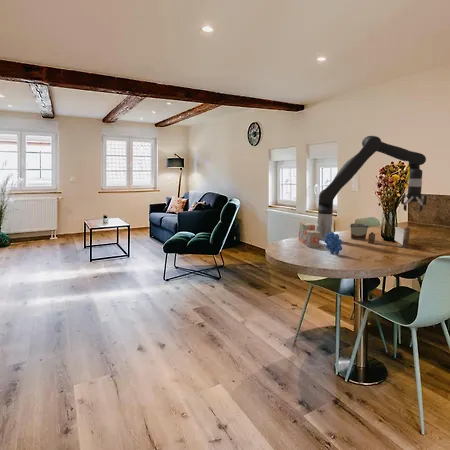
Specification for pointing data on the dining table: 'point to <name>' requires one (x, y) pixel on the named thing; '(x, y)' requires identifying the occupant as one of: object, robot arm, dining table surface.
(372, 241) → the latch post
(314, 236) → the stack of blocks
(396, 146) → the robot arm
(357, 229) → the food container
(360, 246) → the dining table surface
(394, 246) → the sill
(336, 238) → the grapes
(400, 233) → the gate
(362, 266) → the dining table surface
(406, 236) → the hinge post
